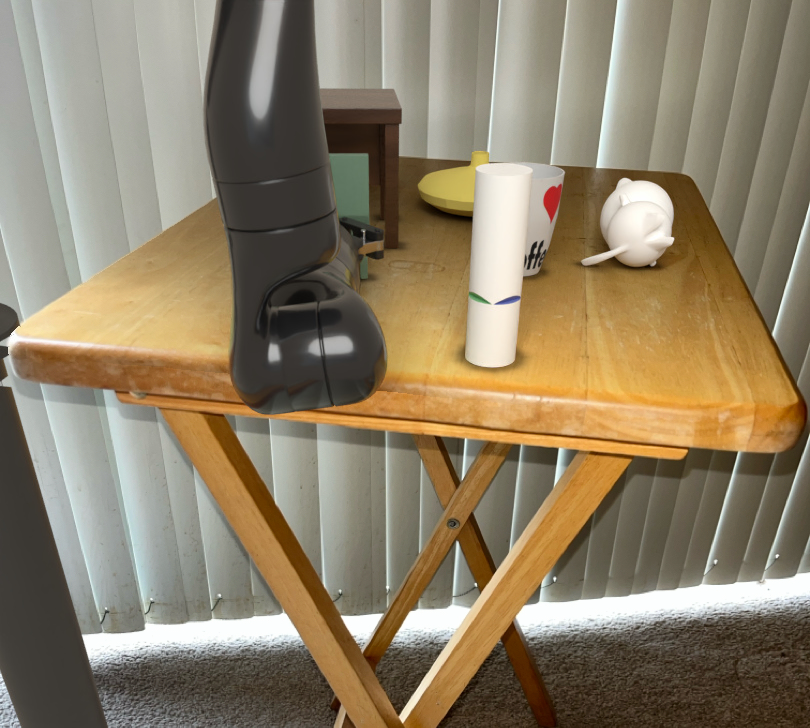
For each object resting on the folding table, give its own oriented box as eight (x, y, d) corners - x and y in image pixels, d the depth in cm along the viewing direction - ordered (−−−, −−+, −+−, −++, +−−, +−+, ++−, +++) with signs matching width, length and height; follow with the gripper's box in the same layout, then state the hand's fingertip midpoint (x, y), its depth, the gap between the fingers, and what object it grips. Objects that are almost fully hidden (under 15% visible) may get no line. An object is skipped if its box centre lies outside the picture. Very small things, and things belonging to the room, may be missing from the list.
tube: (467, 345, 74) (478, 161, 65) (516, 349, 73) (534, 164, 64) (462, 365, 70) (472, 174, 62) (513, 369, 70) (531, 177, 61)
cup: (496, 284, 87) (503, 181, 81) (467, 260, 93) (472, 164, 87) (566, 277, 89) (579, 176, 83) (533, 254, 95) (543, 159, 89)
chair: (369, 279, 88) (368, 155, 81) (273, 280, 87) (263, 155, 80) (367, 250, 96) (365, 135, 89) (278, 251, 95) (270, 135, 88)
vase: (561, 219, 107) (568, 160, 103) (452, 233, 102) (455, 171, 97) (498, 191, 119) (502, 137, 115) (397, 202, 113) (397, 145, 109)
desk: (400, 248, 96) (401, 108, 88) (242, 250, 95) (228, 107, 87) (393, 215, 108) (394, 88, 99) (252, 216, 107) (240, 88, 98)
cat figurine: (662, 183, 83) (652, 154, 93) (563, 236, 88) (564, 203, 97) (694, 260, 87) (682, 225, 97) (599, 307, 92) (596, 269, 101)
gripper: (394, 228, 68) (384, 177, 82) (228, 229, 67) (247, 177, 81) (393, 318, 72) (384, 255, 86) (238, 320, 71) (255, 256, 85)
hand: (318, 217), depth 84 cm, fingers closed
